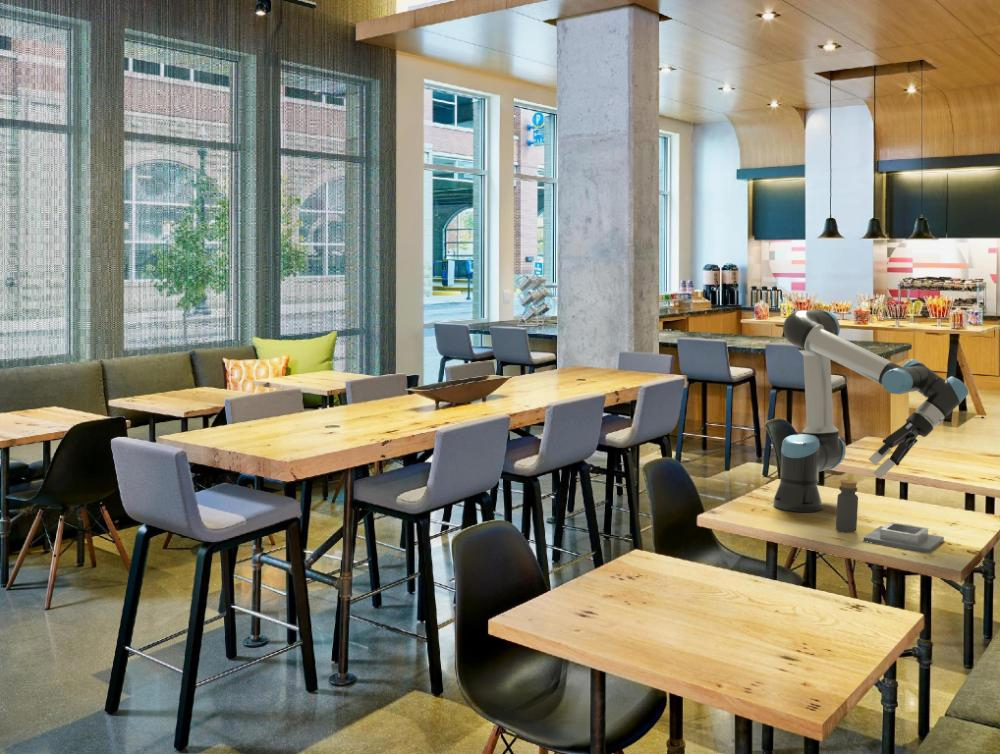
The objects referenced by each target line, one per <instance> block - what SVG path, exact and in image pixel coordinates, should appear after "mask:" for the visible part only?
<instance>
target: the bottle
mask: <svg viewBox="0 0 1000 754" xmlns="http://www.w3.org/2000/svg"><path fill="white" fill-rule="evenodd" d="M857 485H858V482H857V480H852V479H851V480H850V479H841V480H840V486H839V488H838V489H839V491H840V493H839V494H837V497H836V498H837V502H836V518H835V519H836V520H835V530H836V531H838V532H841V533H848V532H852V533H855V531H856V532H857V525H858V510H859V509H858V506H859V496H858V495H857V494H856V492H858V487H857Z"/></svg>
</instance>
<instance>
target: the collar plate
mask: <svg viewBox="0 0 1000 754" xmlns="http://www.w3.org/2000/svg"><path fill="white" fill-rule="evenodd" d="M864 541H868V542H867V543H870V542H872V543H871V544H875V543H877V545H881V544H883V545H882V546H886V545H887V547H893V548H897V547H898V548H899V549H904V550H907V551H908V550H909V551H913V552H920V553H924V554H930V553H931V552H932V551H933V550H935V549H936V548H937V547H938V546H940V543H941V544H942V543H943V542H944V541H945V536H939V535H935V534H929V528H928V527H923V526H918V525H917V526H916V525H912V524H911V525H910V524H906V523H905V524H903V523H899V522H893V521H891V522H889V523H888V524H886V525H884V526H881V525H880V526H878V527H877V528H876V529H873V531H871V532H869V533H868V534H866V535H865V536H863V540H862V542H864Z"/></svg>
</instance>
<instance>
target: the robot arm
mask: <svg viewBox="0 0 1000 754" xmlns="http://www.w3.org/2000/svg"><path fill="white" fill-rule="evenodd" d="M782 327H783V328H782V329H783V334H784V337H785V339H786V340H787V341H788V342H789V343H791V344H792V345H793V346H796V347H797V348H798V352H799V353H801V355H802V356H803V373H804V376H803V377H804V394H805V396H804V397H805V412H806V414H805V415H806V417H805V419H806V427H804V428H803V430H802V434H801V433H799V434H791V435H788V436H786V437H785V438H784V439H783V440H782V442H781V448H780V449H781V450H780V452H781V455H780V456H781V457H780V481H779V484H778V487H777V490H776V493H775V495H774V497H773V507H775V508H777V509H779V510H783V511H788V512H795V513H814V512H819V511H821V510H822V504H823V503H822V498H821V495H820V491H819V487H818V477H819V475H818V474H819V473H820V472H822V471H829V470H832V469H834V468H836V467H838V466H839V465H840V464H841V463H842V462H844V459H845V456H846V453H847V452H846V450H847V449H846V445H845V442H844V440H842V439H841V437H840V435H839V433H840V432H839V429H838V428H837V427H836V426H835V425H834V408H833V404H834V403H833V389H832V387H833V386H832V370H831V368H832V366H831V361H833V362H834V363H837V364H839V365H840V366H843V367H845V368H846V369H849V370H851V371H852V372H853V371H854V372H856V373H857V374H860V376H863V377H865V378H868V379H869V380H871V381H874V382H875V383H877V384H879V385H881V386H882V387H883V388H884V390H885V391H886V392H888V393H889V394H893V395H902V394H907V393H912V392H918V393H919V394H921V395H922V396H923V397H925V398H926V399H925V401H924V402H922V403H921V404H920V405H919V406H918V407H917V408H916V409H915V412H912V413H911V414H910V415H909V416H908V417H907V418H906V420H905V424H903V425H902V426H901V427H899V428H898V429H896V430H894V432H892V433H891V434H889V435H888V436H887V437H886V438H884V439H883V440H882V443H883V444H882V445H881V446H880V447H879V448H877V450H876V451H875V452H874V453H873V454H872V455H871V456H870V457H869V458H868V461H869V462H871V463H872V464H873V465H874V466H877V465H878V464H879V463H880V462H881V461H882V460H883V459H884V458H886V456H887V455H888V454H889V453H890V452H892V449H893V448H894V447H895V449H894V451H893V453H892V454H891V455H890V457H888V458H886V459H885V460H884V461H883V462H882V464H880V465H879V466H878V467H877V468H876V469H875V470H874V471H873V472H872V473H873V474H874V475H875V476H876V477H877V478H878V479H880V480H881V479H882V478H884V476H885V475H886V474H887V473H888V472H889V471H890V470H891V469H892V468H894V466H895V465H896V466H897V467H898V466H899V465H900V463H901V462H902V461H903V459H904V458H905V456H906V455H908V453H909V451H910V450H911V449H912V448H913V447H914V445H915V444H917V443H918V439H917V437H918V436H921V437H923V438H925V437H928V435H930V434H931V433H932V432H933V430H934V428H936V427H937V426H938V425H939V424H940V423H944V420H945V418H946V417H947V416H949V415H950V414H951V412H953V411H954V410H955V409H956V408H957V407H958V406H959V405H960V404H961V403H962V402H963V401H964V399H966V397H967V396H968V395H969V388H968V387H967V385H966V384H965V383H964V382H963V381H962V380H960V379H958V378H957V377H954V376H949V377H947V378H946V379H945V378H943V377H941V376H940V375H939V374H938V373H936V372H935V371H933V370H931V369H930V368H929V367H927V366H926V365H925V364H924V363H923V362H920V361H918V360H917V359H915V358H911V359H910V360H907V361H906V362H905V363H904V364H903V365H899V364H897V363H894V362H893V361H892V360H889V359H886V358H885V357H882V356H880V355H878V354H876V353H874V352H872V351H870V350H867V349H866V348H864V347H861V346H859V345H857V344H856V343H853V342H851V341H848V340H847V339H845V338H842V337H840V336H839V334H840V331H841V327H840V323H839V320H838V318H837V317H836V315H834V314H833V313H832V312H830V311H829V310H826V309H825V310H824V309H803V310H802V309H801V310H800V309H799V310H796V311H794V312H791V313H790V314H789V315H788V316H787V317H786V319H784V323H783V326H782ZM896 446H897V447H896Z"/></svg>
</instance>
